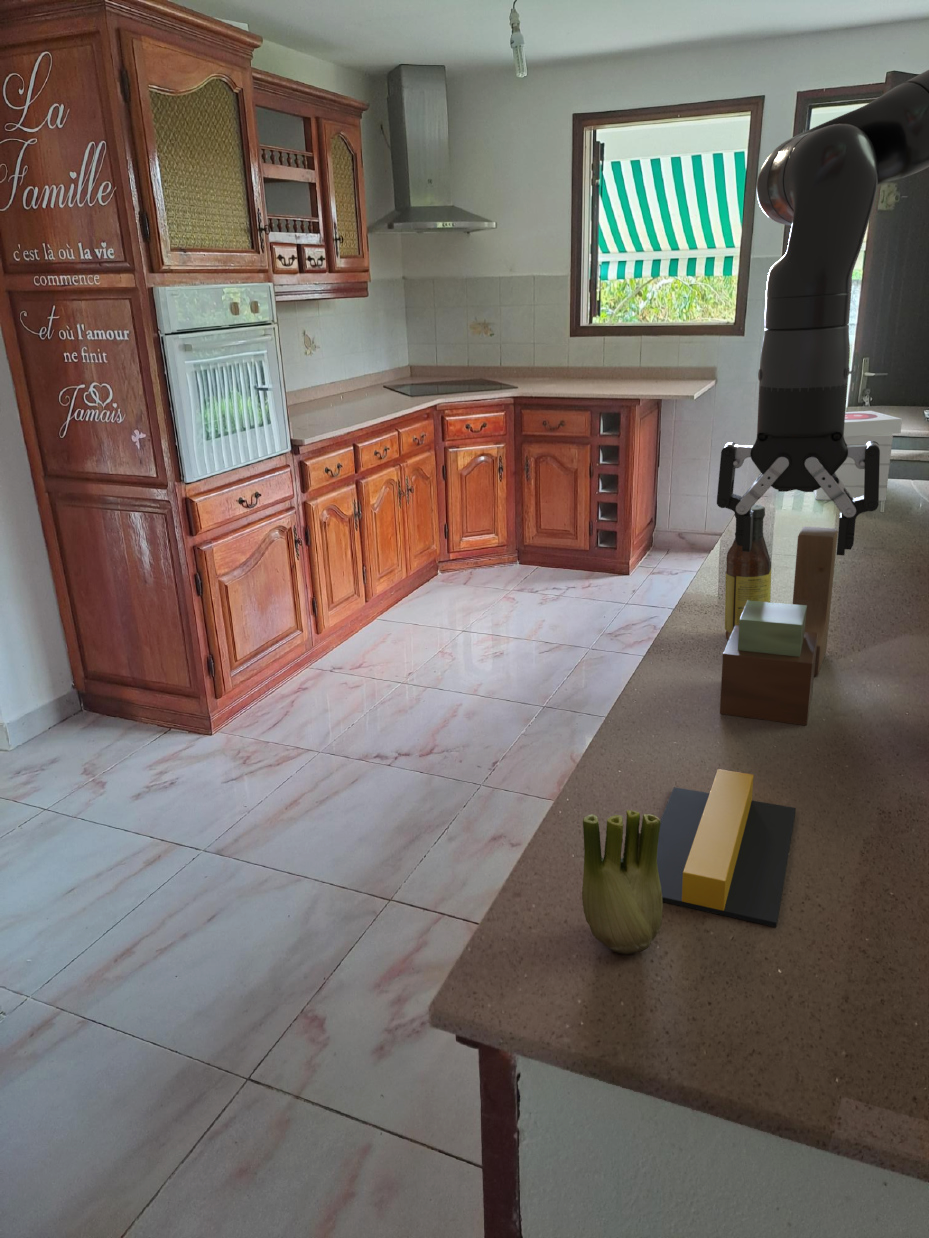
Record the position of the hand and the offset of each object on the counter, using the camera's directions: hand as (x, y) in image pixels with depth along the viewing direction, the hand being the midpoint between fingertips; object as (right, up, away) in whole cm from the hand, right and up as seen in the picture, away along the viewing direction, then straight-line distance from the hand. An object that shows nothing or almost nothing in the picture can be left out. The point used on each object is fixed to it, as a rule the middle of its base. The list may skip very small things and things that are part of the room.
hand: (792, 551), depth 85 cm
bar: (-8, -28, -3) cm, 29 cm away
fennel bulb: (-19, -33, -13) cm, 40 cm away
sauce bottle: (+9, -10, +44) cm, 46 cm away
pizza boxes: (+61, +25, +130) cm, 146 cm away
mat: (-8, -28, -3) cm, 30 cm away
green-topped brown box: (+6, -17, +25) cm, 31 cm away
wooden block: (+15, -13, +35) cm, 40 cm away
